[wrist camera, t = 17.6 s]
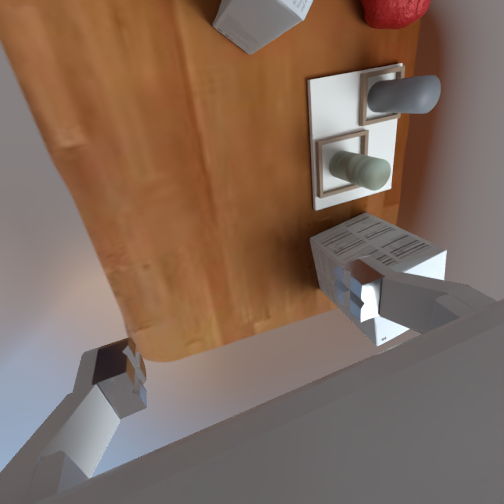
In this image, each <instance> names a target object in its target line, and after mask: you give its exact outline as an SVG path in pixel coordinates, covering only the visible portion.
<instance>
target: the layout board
mask: <svg viewBox="0 0 504 504" xmlns="http://www.w3.org/2000/svg"><path fill="white" fill-rule="evenodd" d="M402 64H403V63H401V64H395V65H389V66H384V67H378V68H373V69H367V70H362V71H356V72H351V73H345V74H339V75H334V76H328V77H323V78H317V79H312V80H307V83H308V104H309V125H310V145H311V166H312V187H313V208H314V210H320V209H323V208H327V207H330V206H333V205H337V204H340V203H344V202H347V201H350V200H354V199H357V198H361V197H364V196H367V195H371V194H374V193H378V192H381V191H385V190H388V189H391V182H392V171H393V160H394V149H395V139H396V128H397V118H400V114H401V113H427V112H429V111H430V110H431V109H432V108H433V107H434V106H435V105H436V103H437V101H438V99H439V96H440V92H441V84H440V81H439V79H438V78H437V77H436V76H434V75H428V76H419V77H410V78H404V73H405V66H402ZM339 151H348V152H352V153H357V154H362V155H366V156H371V157H376V158H380V159H385V160H387V161H388V162H389V164H390V167H391V174H390V177H389V179H388V181H387V183H386V184H385V185H384V186H383V187H382V188H381V189H379V190H375V191H372V190H369V189H366V188H364V187H361V186H358V185H355V184H353V183H350V182H347V181H344V180H342V179H339V178H336V177H334V176H332V175H331V173H330V171H329V163H330V160H331V158H332V157H333V155H334V154H336V153H337V152H339Z"/></svg>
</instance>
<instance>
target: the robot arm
mask: <svg viewBox="0 0 504 504" xmlns="http://www.w3.org/2000/svg"><path fill="white" fill-rule="evenodd" d="M334 276H335V277H336V278H337V280H336V282H335V283H334V291H335V294H336V297H337V298H338V300H339V301H340V302H341V303H342V304H343V305H345V306H348V307H350V312H351V313H352V314H353V315H354V316H355V317H356V318H357V319H358V320H359V321H360V322H362V321H365V320H367V319H370V318H373V317H376V316H378V315H379V316H380V317H382V318H385V319H387V320H390V321H392V322H394V323H397V324H399V325H402V326H404V327H407V328H409V329H411V330H414V331H416V332H419V333H421V335H419V336H417V337H414V338H412V339H410V340H407V341H405V342H403V343H401V344H398V345H396V346H394V347H391V348H389V349H387V350H384V351H382V352H380V353H378V354H376V355H373V356H371V357H369V358H366V359H364V360H361V361H359V362H357V363H354V364H352V365H350V366H348V367H345V368H343V369H341V370H338V371H336V372H334V373H332V374H329V375H327V376H325V377H322V378H320V379H318V380H315V381H313V382H311V383H308V384H306V385H304V386H302V387H299V388H297V389H295V390H292V391H290V392H288V393H285V394H283V395H281V396H279V397H276V398H274V399H272V400H269V401H267V402H265V403H263V404H260V405H258V406H256V407H253V408H251V409H249V410H246V411H244V412H242V413H240V414H237V415H235V416H233V417H230V418H228V419H226V420H224V421H221V422H219V423H217V424H214V425H212V426H210V427H207V428H205V429H203V430H200V431H198V432H196V433H194V434H191V435H189V436H187V437H185V438H182V439H180V440H178V441H175V442H173V443H171V444H168V445H166V446H164V447H161V448H159V449H157V450H154V451H152V452H150V453H148V454H146V455H143V456H141V457H138V458H136V459H134V460H132V461H129V462H127V463H125V464H122V465H120V466H118V467H115V468H113V469H111V470H108V471H106V472H104V473H102V474H99V475H97V476H95V477H92V475H93V473H94V471H95V469H96V467H97V465H98V463H99V461H100V459H101V457H102V456H103V454H104V452H105V450H106V448H107V446H108V444H109V442H110V440H111V438H112V436H113V434H114V432H115V430H116V429H117V427H118V425H119V423H120V419H122V418H124V417H126V416H129V415H131V414H133V413H136V412H138V411H140V410H143V409H145V408H146V407H147V405H146V389H145V387H144V385H143V384H144V383H145V381H146V370H145V365H144V362H143V359H142V357H141V355H140V353H137V352H135V348H136V345H135V343H134V341H133V340H132V338H130V337H129V338H126V339H123V340H120V341H117V342H114V343H110V344H107V345H104V346H101V347H99V348H95V349H92V350H90V351H86V352H84V354H83V355H82V357H81V361H80V365H79V369H78V373H77V377H76V381H75V385H74V389H73V393H70V394H68V395H67V396H66V397H65V398H64V399H63V400H62V402H61V403H60V404H59V405H58V406H57V407H56V409H55V410H54V411H53V412H52V413H51V414H50V415H49V417H48V418H47V419H46V420H45V421H44V423H43V424H42V425H41V426H40V427H39V428H38V429H37V431H36V432H35V433H34V434H33V435H32V436H31V438H30V439H29V440H28V441H27V442H26V444H25V445H24V446H23V447H22V448H21V449H20V450H19V452H18V453H17V454H16V455H15V456H14V457H13V458H12V460H11V461H10V462H9V463H8V464H7V465H6V467H5V468H4V469H3V470H2V471H1V472H0V504H504V299H502V300H499V301H496V300H494V299H492V298H491V297H489V296H487V295H485V294H483V293H481V292H480V291H478V290H476V289H474V288H472V287H471V286H469V285H466V284H461V283H456V282H450V281H445V280H440V279H435V278H430V277H425V276H420V275H415V274H409V273H404V272H398V273H397V272H395V271H393V270H392V269H390V268H389V267H387V266H386V265H384V264H383V263H381V262H379V261H378V260H376V259H375V258H373V257H372V256H369V255H366V256H363V257H360V258H358V259H356V260H353V261H350V262H347V263H344V264H342V265H339V266H336V267H335V269H334ZM91 477H92V478H91Z"/></svg>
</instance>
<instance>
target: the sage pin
mask: <svg viewBox="0 0 504 504" xmlns="http://www.w3.org/2000/svg"><path fill="white" fill-rule="evenodd" d="M329 171H330V173H331V175H332V176H334V177H336V178H339V179H342V180H344V181H347V182H350V183H353V184H355V185H358V186H361V187H364V188H366V189H369V190H372V191H375V190H379V189H381V188H382V187H383V186H384V185H385V184H386V183H387V181H388V179H389V177H390V174H391V167H390V164H389V162H388V161H387V160H385V159H380V158H376V157H371V156H366V155H362V154H357V153H352V152H348V151H339V152H337V153H336V154H334V155H333V157H332V158H331V160H330V163H329Z"/></svg>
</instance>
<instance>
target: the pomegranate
mask: <svg viewBox="0 0 504 504" xmlns="http://www.w3.org/2000/svg"><path fill="white" fill-rule="evenodd" d="M360 1H361V3H362V5H363V7H364V18H365V20H366V22H367V24H368V25H369V26H370V27H372V28H377V29H400V28H404V27H406V26H408V25H409V24H411V23H413V22H415V21H416V20H417V19H419V18H420V17H421V16H423V14H424V13H425V12H426V11H427V10H428V7H429V4H430V2H431V0H360Z"/></svg>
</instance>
